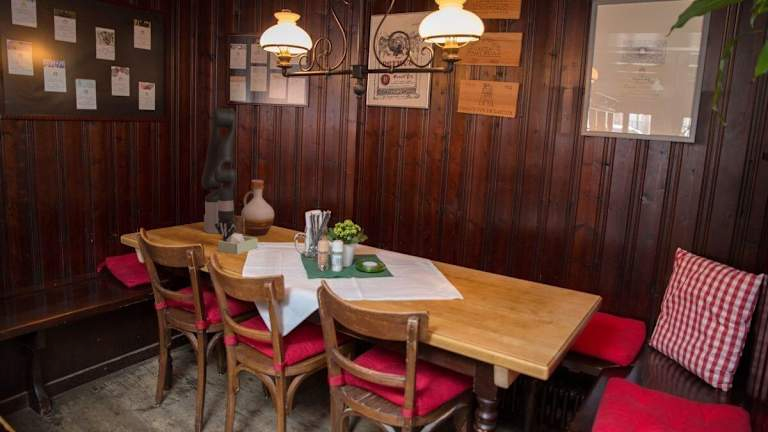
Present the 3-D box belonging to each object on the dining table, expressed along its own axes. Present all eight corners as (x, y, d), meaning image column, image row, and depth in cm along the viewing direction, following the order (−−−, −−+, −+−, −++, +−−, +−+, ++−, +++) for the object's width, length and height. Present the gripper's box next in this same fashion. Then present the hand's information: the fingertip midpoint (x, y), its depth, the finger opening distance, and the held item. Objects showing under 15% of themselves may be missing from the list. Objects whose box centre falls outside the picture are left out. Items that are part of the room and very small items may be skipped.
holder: (218, 251, 277) (218, 241, 277) (239, 245, 291) (239, 235, 290) (237, 254, 273) (237, 244, 272) (257, 247, 286) (257, 238, 285)
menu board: (222, 241, 297) (221, 215, 294) (228, 240, 301) (228, 213, 299) (240, 244, 292) (240, 217, 289) (247, 242, 296) (247, 216, 294)
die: (249, 250, 285) (244, 232, 288) (243, 245, 276) (238, 227, 280) (233, 255, 284) (228, 238, 288) (227, 250, 276) (222, 232, 279)
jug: (232, 234, 315) (231, 179, 310) (256, 229, 330) (255, 177, 324) (257, 239, 305) (257, 183, 299) (281, 234, 319) (281, 180, 314)
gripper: (241, 209, 282) (241, 243, 285) (220, 206, 287) (220, 239, 291) (231, 211, 275) (231, 246, 279) (210, 208, 281) (210, 242, 284)
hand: (226, 243), depth 285 cm, fingers closed
